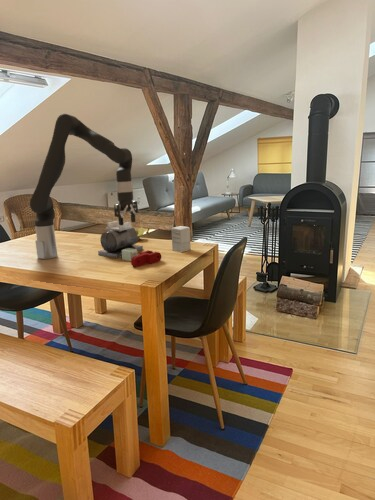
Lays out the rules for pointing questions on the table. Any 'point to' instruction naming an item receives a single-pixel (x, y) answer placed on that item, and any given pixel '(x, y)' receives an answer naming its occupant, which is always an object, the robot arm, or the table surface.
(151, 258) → the mechanical linkage
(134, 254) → the pale green block
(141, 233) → the plastic component
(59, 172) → the robot arm
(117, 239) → the motor
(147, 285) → the table surface
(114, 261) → the table surface
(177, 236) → the supplement box
